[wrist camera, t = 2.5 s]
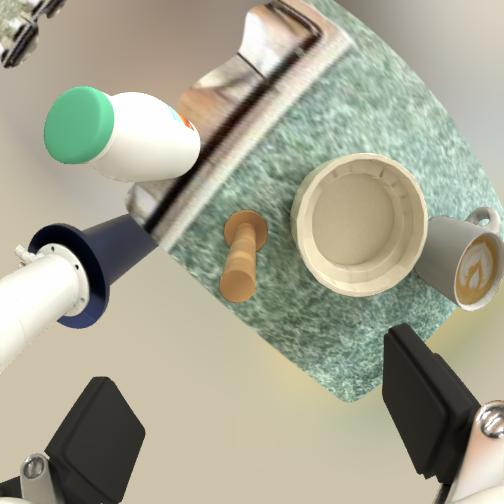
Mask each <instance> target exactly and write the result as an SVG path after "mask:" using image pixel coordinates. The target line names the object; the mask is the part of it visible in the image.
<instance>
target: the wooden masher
mask: <svg viewBox="0 0 504 504" xmlns="http://www.w3.org/2000/svg"><path fill="white" fill-rule="evenodd" d="M224 236H225V240H226V242H227V243H228V245H229V246H230V247H231V248H230V251H229V254H228V257H227V260H226V264H225V267H224V270H223V273H222V276H221V279H220V282H219V289H220V292H221V294H222V295H223V296H224V298H226V299H227V300H229V301H231V302H234V303H241V302H245V301H247V300H249V299H250V298H251V297H252V296H253V294H254V292H255V287H256V251H257V250H259V249H260V248H261V247H262V246H263V245H264V244H265V242H266V240H267V236H268V229H267V224H266V222H265V220H264V218H263V217H262V216H261V215H260V214H258V213H257V212H255V211H252V210H240V211H238V212H235V213H234V214H233V215H231V217H230V218H229V219H228V221H227V222H226V225H225V228H224Z"/></svg>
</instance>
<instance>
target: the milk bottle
mask: <svg viewBox="0 0 504 504" xmlns="http://www.w3.org/2000/svg"><path fill="white" fill-rule="evenodd" d="M44 141H45V145H46V148H47V150H48V152H49V154H50V155H51V156H52V157H53V158H54V159H55V160H57V161H59V162H61V163H64V164H88V163H90V164H91V165H92V166H93V167H94V168H95V170H97V171H98V172H99V173H101V174H102V175H104V176H106V177H108V178H110V179H113V180H116V181H122V182H143V181H155V180H165V179H172V178H176V177H179V176H181V175H183V174H185V173H186V172H187V171H188V170H189V169H190V168H191V167H192V166H193V165H194V163H195V162H196V160H197V158H198V155H199V151H200V138H199V135H198V132H197V130H196V128H195V127H194V126H193V125H192V124H191V123H190V122H189V121H188V120H187V119H186V118H184V117H183V116H182V115H180V114H179V113H178V112H176V111H175V110H173V109H172V108H171V107H169V106H168V105H166V104H165V103H163V102H162V101H160V100H158V99H156V98H154V97H152V96H149V95H146V94H142V93H134V92H129V93H122V94H118V95H115V96H112V97H110V96H109V95H107V94H105V93H102V92H100V91H98V90H96V89H94V88H91V87H86V86H83V87H75V88H72V89H70V90H68V91H66V92H65V93H63V94H62V95H61V96H60V97H59V98H58V99H57V100H56V101H55V103H54V104H53V106H52V107H51V109H50V111H49V113H48V116H47V119H46V122H45V127H44Z"/></svg>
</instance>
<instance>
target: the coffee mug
mask: <svg viewBox="0 0 504 504" xmlns="http://www.w3.org/2000/svg"><path fill="white" fill-rule="evenodd" d="M482 219H490V222H489V223H488V224H487V225H485V226H477V224H478V222H479V221H480V220H482ZM500 225H501V220H500V217H499V215H498V213H497V212H496V211H495V210H493V209H491V208H488V207H479V208H477V209H475V210H474V211H473V212H472V213H471V214H470V215H469V216H468V217H467V219H466V220H464V221H461V220H458V219H454V218H451V217H448V216H437V217H434V218H432V219H431V220H429V221H428V228H427V237H426V240H425V244H424V247H423V250H422V253H421V255H420V257H419V259H418V260H417V262H416V263H415V265H414V268H415V270H416V272H417V274H418V276H419V277H420V278H421V279H422V280H424V281H425V282H427V283H428V284H429V285H431V286H432V287H433V288H435V289H436V290H437V291H439V292H440V293H441V294H443V295H444V296H445V297H447V298H448V299H449V300H451V301H452V302H453V303H454V304H456V305H457V306H458V307H460V308H461V309H463V310H465V311H469V312H470V311H476V310H478V309H481V308H482V307H484V306H485V305H486V304H487V303H488V302H489V301H490V300H491V299H492V298H493V297H494V295H495V294H496V292H497V290H498V288H499V286H500V284H501V282H502V279H503V276H504V243H503V241H502V239H501V237H500V236H499V235H498V234H497V233H498V231H499V229H500Z"/></svg>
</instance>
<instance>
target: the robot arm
mask: <svg viewBox="0 0 504 504" xmlns="http://www.w3.org/2000/svg"><path fill="white" fill-rule="evenodd" d="M15 254H16V255H17V256H18V257H19V258H20V259H21V260H23V261H24V262H25V264H24V263H23V262H21V263H19V265H18V270H16V271H15V272H13V273H11V274H9V275H7V276H5V277H3V278H2V279H0V374H1V373H2V372H3V371H4V369H5V368H6V367H7V366H8V365H9V364H10V363H11V362H12V361H13V360H14V359H15V358H16V357H17V356H18V355H19V354H20V353H21V352H22V351H23V350H24V349H25V348H27V347H28V346H29V345H30V344H31V343H32V342H33V341H34V340H35V339H36V338H37V337H39V336H40V335H41V334H42V333H43V332H44V331H45V330H46V329H48V328H49V327H50V326H51V325H52V324H53V323H54V322H56V321H57V320H58V319H59V318H60V317H61V316H63V315H64V316H75V315H78V314H79V313H81V312H82V311H83V310H84V309H85V308H86V306H87V305H88V302H89V299H90V282H89V277H88V274H87V271H86V269H85V267H84V265H83V263H82V262H81V260H80V258H79V257H78V256H77V255H76V254H75V253H74V252H73V251H72V250H71V249H70V248H68V247H67V246H65V245H63V244H60V243H50V244H47V245H45V246H43V247H42V248H41V249H40V250H39V251H38V252H37V254H36V255H35V254H33V253H29V252H28V251H27V250H26V249H25V248H24V247H23V246H22V245H18V246H17V248H16V249H15ZM382 395H383V400H384V402H385V404H386V406H387V408H388V410H389V413H390V415H391V417H392V419H393V421H394V423H395V425H396V427H397V429H398V432H399V434H400V436H401V438H402V440H403V442H404V444H405V447H406V449H407V451H408V454H409V455H410V458H411V460H412V463H413V465H414V467H415V469H416V471H417V473H418V474H419V475H420V474H423V475H424V477H425V479H429V478H431V477H433V476H435V475H436V477H437V479H438V482H439V483H441V484H440V486H439V489H438V491H437V494H436V496H435V498H434V501H433V503H432V504H504V401H501V400H496V401H491V402H488V403H486V404H485V405H483V406H481V405H480V404H479V402H478V401H477V400H476V398H475V397H474V396H473V395H472V393H471V392H470V391H469V390H468V389H467V387H466V386H465V385H464V383H463V382H462V381H461V380H460V378H459V377H458V376H457V375H456V374H455V372H454V371H453V370H452V369H451V368H450V366H449V365H448V364H447V363H446V362H445V361H444V359H443V358H442V357H441V356H440V355H439V354H437V353H432V351H431V350H430V349H429V348H428V347H427V346H426V344H425V343H424V342H423V341H422V340H421V339H420V337H419V336H418V335H417V334H416V333H415V332H414V331H413V329H412V328H411V327H410V326H409V325H408V324H407V323H403V324H400V325H397V326H394V327H391V328H389V331H388V333H387V334H385V335H384V362H383V386H382ZM144 438H145V429H144V427H143V425H142V424H141V423H140V421H139V420H138V418H137V417H136V415H135V414H134V413H133V411H132V410H131V408H130V407H129V405H128V404H127V402H126V400H125V399H124V397H123V396H122V394H121V393H120V391H119V389H118V388H117V386H116V385H115V383H114V382H113V381H111V379H110V378H108V377H93V378H92V379H91V380H90V382H89V384H88V385H87V386H86V388H85V389H84V391H83V392H82V394H81V395H80V396H79V398H78V399H77V401H76V402H75V404H74V405H73V407H72V408H71V410H70V411H69V413H68V414H67V416H66V417H65V419H64V420H63V422H62V424H61V425H60V427H59V428H58V430H57V431H56V433H55V434H54V436H53V438H52V439H51V441H50V443H49V444H48V446H47V447H46V449H45V450H44V452H45V453H46V454H47V455H48V456H49V457H50V459H49V460H48V459H47V458H46V457H45V456H44V455H42V454H37V453H36V454H32V455H30V456H28V457H27V458H26V459H25V460H24V461H23V463H22V465H21V467H20V476H18V477H15V478H13V479H10V480H8V481H5V482H2V483H0V504H101V503H102V504H118V503H120V502H121V501H122V499H123V496H124V493H125V491H126V487H127V485H128V482H129V479H130V476H131V473H132V471H133V468H134V465H135V462H136V459H137V457H138V454H139V451H140V448H141V446H142V443H143V440H144Z"/></svg>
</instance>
